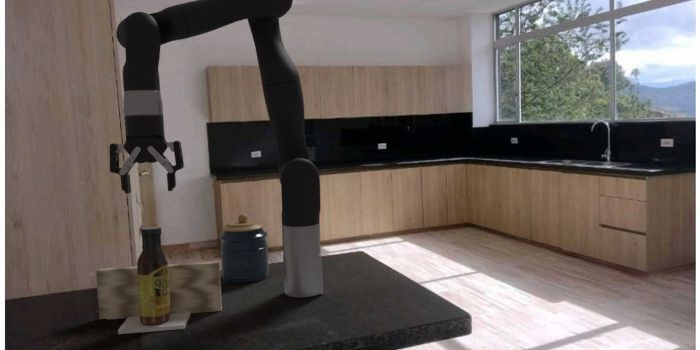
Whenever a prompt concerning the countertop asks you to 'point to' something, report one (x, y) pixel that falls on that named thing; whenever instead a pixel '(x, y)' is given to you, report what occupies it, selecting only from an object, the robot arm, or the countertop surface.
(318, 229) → the robot arm
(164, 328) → the white plate
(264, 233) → the canister
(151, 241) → the sauce bottle
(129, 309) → the birch board
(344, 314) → the countertop surface
